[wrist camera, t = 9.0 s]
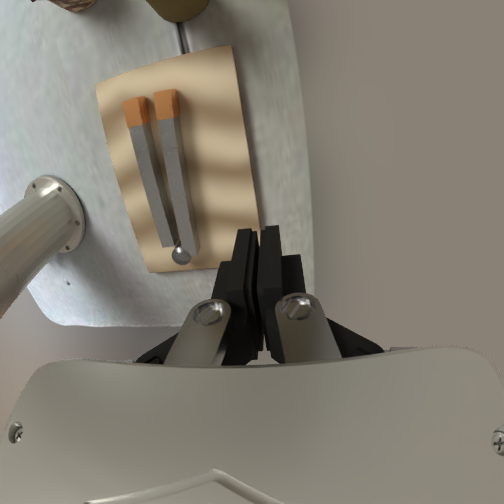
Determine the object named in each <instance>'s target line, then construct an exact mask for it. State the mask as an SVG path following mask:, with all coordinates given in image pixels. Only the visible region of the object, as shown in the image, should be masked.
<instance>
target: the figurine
mask: <svg viewBox="0 0 504 504" xmlns="http://www.w3.org/2000/svg"><path fill="white" fill-rule="evenodd" d="M31 1H32V2H34V1H36V0H31ZM48 1H50V2H52V3H54V4H56V5H58V6H60V7H61V8H64V9H66V10H68V11H71V12H74V13H75V12H77V11H80V10H83V9H85V8H88V7H90V6H91V5H92V4H94V3H95V2H96V0H48Z"/></svg>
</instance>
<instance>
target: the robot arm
mask: <svg viewBox="0 0 504 504" xmlns="http://www.w3.org/2000/svg"><path fill="white" fill-rule="evenodd" d="M84 232H85V219H84V213H83V210H82V207H81V204H80V202H79V200H78V198H77V196H76V195H75V193H74V192H73V191H72V189H71V188H70V187H69V186H68V185H67V184H66V183H65V182H64V181H62V180H61V179H59V178H57V177H54V176H50V175H44V176H40V177H38V178H36V179H35V180H33V181H32V182H31V183H30V184H29V185H28V187H27V189H26V191H25V195H24V199H22V200H21V201H19V202H18V203H17V204H15V205H14V206H12V207H11V208H9V209H8V210H7V211H5V212H4V213H3V214H1V215H0V319H1V318H2V316H3V315H4V313H5V312H6V311H7V309H8V308H9V307H10V306H11V304H12V303H13V302H14V300H15V299H16V298H17V297H18V296H19V295H20V293H21V292H22V291H23V290H24V289H25V287H26V286H27V285H28V284H29V283H30V282H31V280H32V279H33V278H34V277H35V276H36V275H37V274H38V273H39V271H40V270H41V269H42V268H43V267H44V266H45V265H46V264H47V263H48V262H49V261H50V260H51V258H52V257H53V256H54V255H55V254H56V253H57V252H58V253H67V252H70V251H72V250H74V249H75V248H76V247H77V246H78V245H79V244H80V242H81V241H82V239H83V236H84ZM264 336H265V341H266V347H267V351H270V352H271V357H272V358H273V359H274V360H275V361H277V362H278V363H280V364H269V365H246V364H247V363H248V362H250V361H251V360H257V359H258V351H263V341H264V340H263V339H264ZM0 504H504V377H503V375H502V374H501V372H500V371H499V369H498V368H497V366H496V365H495V363H494V362H493V361H492V360H491V359H490V358H489V357H488V356H486V355H485V354H483V353H482V352H480V351H477V350H474V349H470V348H467V347H458V346H429V347H391V348H390V350H383V349H382V348H381V347H380V346H379V345H377V344H376V343H374V342H372V341H370V340H368V339H366V338H364V337H362V336H360V335H358V334H356V333H355V332H353V331H351V330H349V329H347V328H345V327H343V326H341V325H339V324H338V323H336V322H334V321H332V320H330V319H328V318H326V316H325V314H324V311H323V309H322V307H321V304H320V302H319V301H318V299H317V298H315V297H314V296H312V295H310V294H307V293H306V290H305V283H304V276H303V269H302V262H301V256H300V254H298V255H287V256H282V251H281V241H280V232H279V225H275V226H265V230H261V231H260V246H259V241H258V234H257V231H252V229H251V228H245V229H238V231H237V235H236V240H235V245H234V249H233V254H232V259H231V260H230V261H221V263H220V266H219V269H218V273H217V277H216V281H215V285H214V289H213V293H212V297H211V299H208V300H204V301H202V302H200V303H198V304H196V305H195V306H194V307H193V308H192V309H191V310H190V312H189V314H188V316H187V318H186V320H185V322H184V324H183V326H182V328H181V330H180V331H179V332H178V333H177V334H175V335H174V336H172V337H171V338H169V339H168V340H166V341H164V342H163V343H161V344H159V345H158V346H156V347H155V348H153V349H152V350H150V351H148V352H147V353H145V354H143V355H142V356H141V357H139V358H138V359H137V361H136V362H134V361H133V359H129V360H121V361H106V360H92V359H66V360H59V361H55V362H51V363H48V364H46V365H43V366H41V367H40V368H38V369H37V370H36V371H35V372H34V373H33V375H32V376H31V378H30V379H29V381H28V382H27V384H26V386H25V387H24V389H23V391H22V392H21V394H20V396H19V398H18V400H17V402H16V404H15V406H14V408H13V410H12V413H11V414H10V417H9V419H8V422H7V424H6V426H5V429H4V432H3V434H2V437H1V439H0Z"/></svg>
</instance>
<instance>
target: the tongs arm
mask: <svg viewBox="0 0 504 504" xmlns="http://www.w3.org/2000/svg"><path fill="white" fill-rule="evenodd" d="M153 95H154V102H155V110H156V117H157V121H158V123H159V130H160V136H161V142H162V148H163V154H164V160H165V166H166V172H167V177H168V182H169V188H170V193H171V198H172V203H173V208H174V213H175V218H176V222H177V227H178V232H179V236H180V241H179V242H178V243H177V244H176V246H175V248H174V250H173V252H172V259H173V261H174V262H175V263H177V264H179V265H187V264H188V263H189V262H190V260H191V258H192V257H193V256H197V255H198V253H199V250H200V248H201V247H200V242H199V237H198V231H197V226H196V221H195V215H194V210H193V204H192V198H191V192H190V186H189V180H188V174H187V168H186V161H185V155H184V148H183V141H182V134H181V127H180V120H179V116H180V111H179V104H178V95H177V89H168V90H163V91H158V92H154V93H153Z"/></svg>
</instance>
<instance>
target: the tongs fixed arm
mask: <svg viewBox="0 0 504 504" xmlns="http://www.w3.org/2000/svg"><path fill="white" fill-rule="evenodd" d="M122 104H123V109H124V114H125V118H126V123H127V127H128V128H129V131H130V135H131V140H132V144H133V148H134V152H135V156H136V160H137V164H138V168H139V171H140V175H141V179H142V182H143V186H144V189H145V193H146V196H147V200H148V203H149V207H150V210H151V213H152V217H153V220H154V223H155V226H156V229H157V233H158V236H159V239H160V242H161V245H162V248H165V247H174V246H175V245H176V243H177V241H178V239H179V236H178V232H177V229H176V225H175V222H174V218H173V215H172V211H171V207H170V204H169V200H168V196H167V193H166V189H165V185H164V181H163V177H162V173H161V169H160V165H159V161H158V157H157V153H156V148H155V144H154V140H153V135H152V131H151V126H150V117H149V112H148V107H147V102H146V97H145V96H141V97H136V98H133V99H129V100H127V101H124V102H122Z"/></svg>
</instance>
